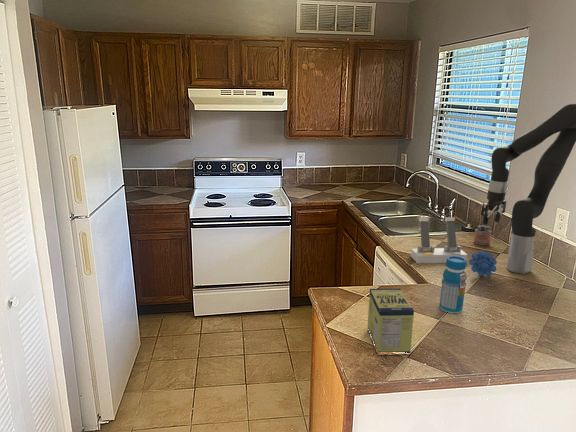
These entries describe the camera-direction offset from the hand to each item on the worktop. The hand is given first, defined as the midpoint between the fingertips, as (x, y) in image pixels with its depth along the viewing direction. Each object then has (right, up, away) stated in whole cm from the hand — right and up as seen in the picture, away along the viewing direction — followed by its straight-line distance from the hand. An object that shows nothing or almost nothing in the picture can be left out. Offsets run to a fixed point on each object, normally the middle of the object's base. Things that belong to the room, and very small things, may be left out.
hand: (491, 223), depth 203 cm
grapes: (-11, -24, -15) cm, 30 cm away
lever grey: (-17, -13, +4) cm, 21 cm away
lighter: (+7, -12, +26) cm, 30 cm away
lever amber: (-30, -13, +3) cm, 33 cm away
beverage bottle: (-35, -32, -43) cm, 64 cm away
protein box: (-64, -38, -64) cm, 98 cm away
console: (-23, -18, +5) cm, 30 cm away
